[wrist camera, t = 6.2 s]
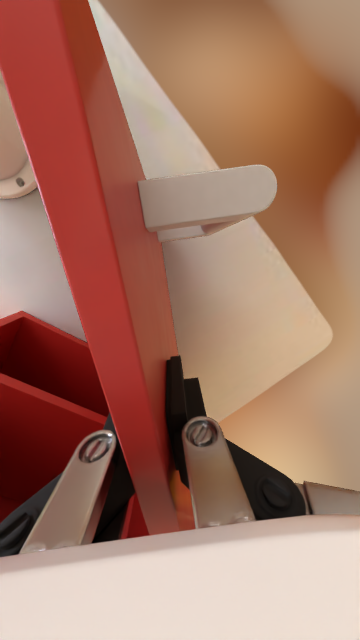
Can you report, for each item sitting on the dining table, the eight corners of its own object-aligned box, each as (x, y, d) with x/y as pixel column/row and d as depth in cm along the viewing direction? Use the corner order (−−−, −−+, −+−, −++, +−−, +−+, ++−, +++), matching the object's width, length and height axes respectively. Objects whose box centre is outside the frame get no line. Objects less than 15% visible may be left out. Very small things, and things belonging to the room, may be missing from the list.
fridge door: (203, 204, 24) (627, -405, 2) (217, 379, 33) (320, 651, 10) (148, 212, 24) (-125, -306, 2) (176, 384, 33) (192, 671, 10)
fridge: (21, 310, 27) (-677, 582, 5) (177, 387, 33) (194, 680, 10) (-15, 400, 32) (-462, 757, 9) (128, 454, 38) (64, 760, 15)
